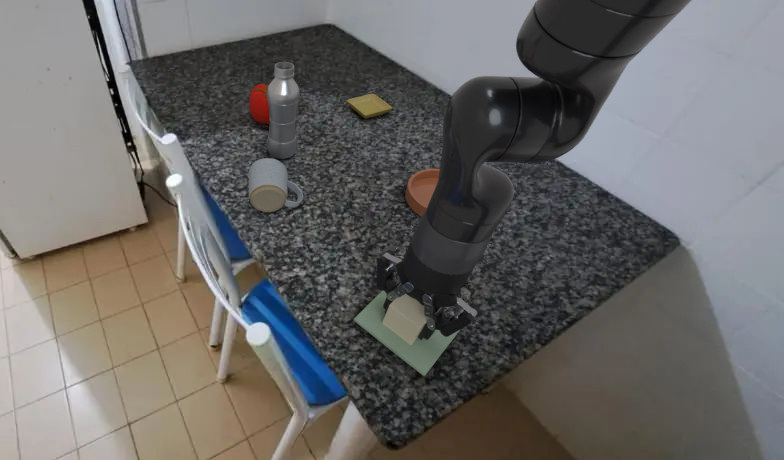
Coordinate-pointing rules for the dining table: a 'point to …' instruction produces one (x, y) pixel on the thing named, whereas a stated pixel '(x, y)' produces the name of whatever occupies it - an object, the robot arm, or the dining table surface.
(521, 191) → the dining table surface
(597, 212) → the dining table surface
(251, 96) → the tomato
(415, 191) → the terracotta dish
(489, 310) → the dining table surface
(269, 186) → the ceramic mug
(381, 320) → the mat
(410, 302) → the block
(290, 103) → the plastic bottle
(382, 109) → the saucer
